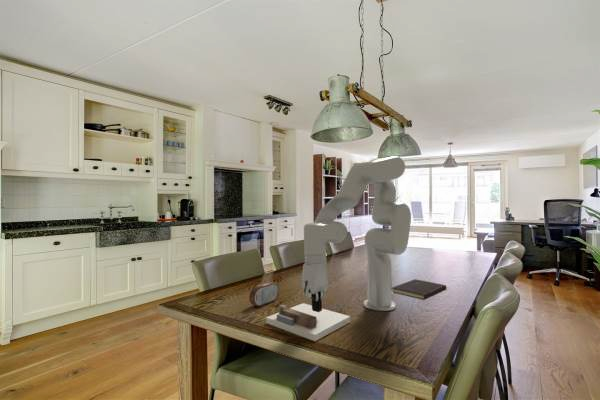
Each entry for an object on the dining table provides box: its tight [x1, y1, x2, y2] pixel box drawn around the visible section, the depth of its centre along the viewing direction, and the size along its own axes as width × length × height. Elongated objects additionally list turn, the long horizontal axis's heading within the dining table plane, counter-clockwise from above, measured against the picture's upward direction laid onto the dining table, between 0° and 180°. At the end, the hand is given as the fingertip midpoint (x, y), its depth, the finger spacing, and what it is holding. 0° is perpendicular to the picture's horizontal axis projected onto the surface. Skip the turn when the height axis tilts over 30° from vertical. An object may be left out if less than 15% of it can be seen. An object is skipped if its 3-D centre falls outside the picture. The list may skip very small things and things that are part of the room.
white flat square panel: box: [265, 302, 351, 342], centre depth 111 cm, size 20×22×4 cm
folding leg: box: [278, 304, 317, 329], centre depth 107 cm, size 16×3×4 cm, turn 47°
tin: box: [248, 281, 279, 307], centre depth 132 cm, size 15×3×8 cm, turn 141°
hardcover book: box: [392, 278, 447, 300], centre depth 150 cm, size 16×23×2 cm
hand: (317, 310), depth 110 cm, fingers closed
